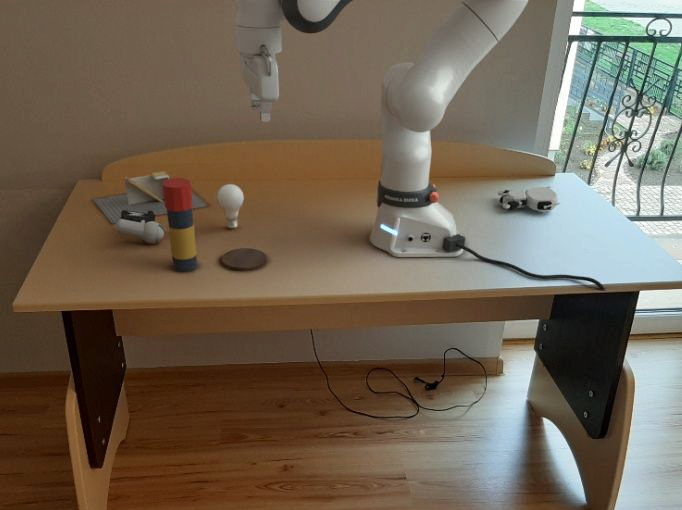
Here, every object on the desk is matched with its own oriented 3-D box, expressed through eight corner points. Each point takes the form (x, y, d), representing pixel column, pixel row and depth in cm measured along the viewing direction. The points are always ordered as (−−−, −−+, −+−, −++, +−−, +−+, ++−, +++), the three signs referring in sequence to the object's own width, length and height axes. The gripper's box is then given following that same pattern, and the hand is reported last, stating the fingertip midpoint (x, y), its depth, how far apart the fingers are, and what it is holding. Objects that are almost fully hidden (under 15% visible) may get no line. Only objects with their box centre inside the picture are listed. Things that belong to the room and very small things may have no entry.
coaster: (270, 252, 158) (270, 249, 158) (261, 272, 150) (261, 269, 149) (228, 249, 159) (227, 246, 158) (216, 269, 151) (216, 265, 150)
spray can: (200, 262, 153) (194, 194, 144) (193, 273, 149) (186, 203, 140) (177, 260, 154) (169, 192, 145) (169, 271, 149) (161, 201, 141)
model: (172, 201, 182) (168, 173, 178) (132, 208, 178) (128, 179, 173) (167, 197, 185) (164, 169, 180) (128, 204, 180) (124, 175, 176)
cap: (195, 202, 146) (193, 178, 143) (187, 212, 141) (185, 188, 138) (170, 200, 146) (167, 177, 143) (161, 210, 141) (158, 186, 139)
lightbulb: (214, 229, 168) (210, 186, 162) (229, 221, 173) (226, 178, 166) (235, 235, 165) (233, 191, 159) (250, 226, 170) (248, 183, 164)
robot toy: (502, 218, 181) (560, 217, 180) (503, 202, 178) (562, 200, 177) (495, 201, 191) (550, 199, 190) (497, 185, 188) (553, 183, 187)
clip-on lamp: (195, 238, 171) (120, 223, 167) (199, 213, 168) (123, 198, 164) (191, 254, 160) (111, 239, 157) (195, 229, 157) (114, 212, 154)
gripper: (286, 50, 125) (287, 127, 133) (264, 33, 142) (266, 103, 149) (252, 50, 124) (254, 129, 131) (234, 33, 140) (237, 103, 148)
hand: (260, 115), depth 140 cm, fingers open, 8 cm apart
